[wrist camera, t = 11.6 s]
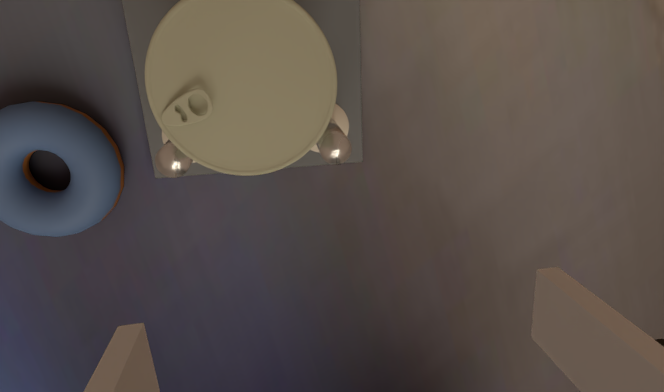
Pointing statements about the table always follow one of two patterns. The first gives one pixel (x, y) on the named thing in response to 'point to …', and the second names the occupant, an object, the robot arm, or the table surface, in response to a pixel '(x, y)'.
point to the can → (241, 83)
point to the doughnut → (77, 152)
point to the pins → (330, 144)
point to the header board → (341, 33)
